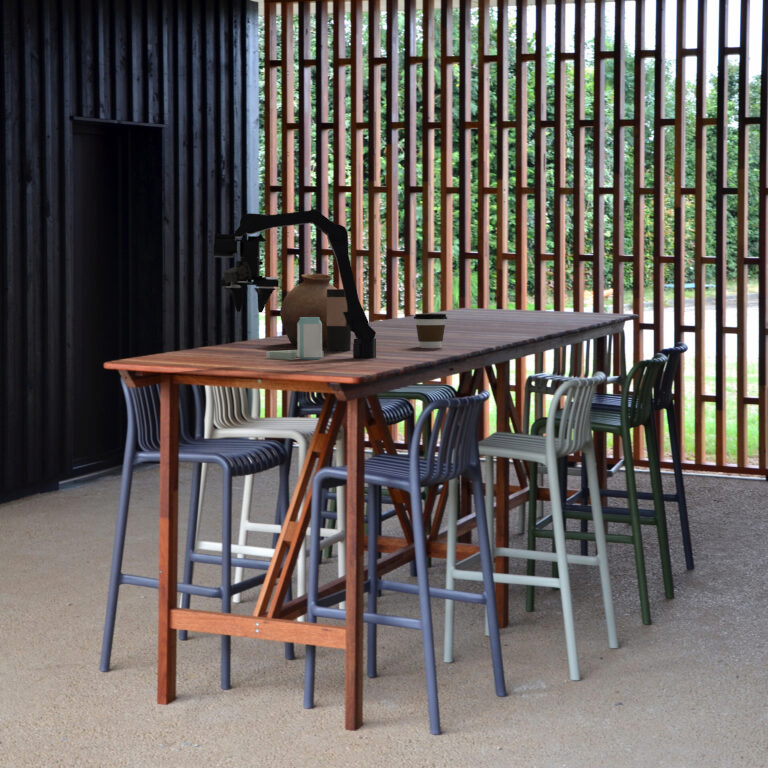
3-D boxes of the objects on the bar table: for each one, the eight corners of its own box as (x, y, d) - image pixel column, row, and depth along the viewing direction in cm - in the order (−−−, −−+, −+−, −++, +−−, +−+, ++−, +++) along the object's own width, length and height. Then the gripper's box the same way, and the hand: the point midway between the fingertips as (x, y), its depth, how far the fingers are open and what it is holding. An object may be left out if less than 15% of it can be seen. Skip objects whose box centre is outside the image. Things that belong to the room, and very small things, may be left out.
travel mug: (321, 353, 396) (321, 289, 394) (341, 352, 401) (340, 289, 399) (336, 354, 390) (336, 289, 388) (356, 353, 395) (356, 289, 393)
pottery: (309, 348, 428) (308, 274, 426) (365, 350, 415) (365, 273, 413) (266, 351, 409) (265, 273, 407) (323, 353, 396) (322, 273, 394)
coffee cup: (444, 352, 402) (444, 314, 401) (410, 351, 404) (410, 314, 403) (449, 350, 412) (449, 313, 411) (416, 350, 415) (416, 313, 414)
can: (309, 358, 369) (309, 316, 368) (327, 358, 365) (326, 317, 364) (292, 359, 364) (292, 317, 363) (310, 360, 359) (310, 317, 358)
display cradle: (298, 356, 377) (298, 349, 377) (323, 357, 370) (323, 351, 370) (266, 358, 367) (266, 351, 367) (291, 359, 360) (291, 352, 360)
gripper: (206, 257, 364) (206, 311, 365) (251, 256, 352) (250, 312, 353) (235, 258, 372) (235, 311, 373) (280, 257, 360) (279, 312, 361)
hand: (249, 312), depth 365 cm, fingers open, 9 cm apart
